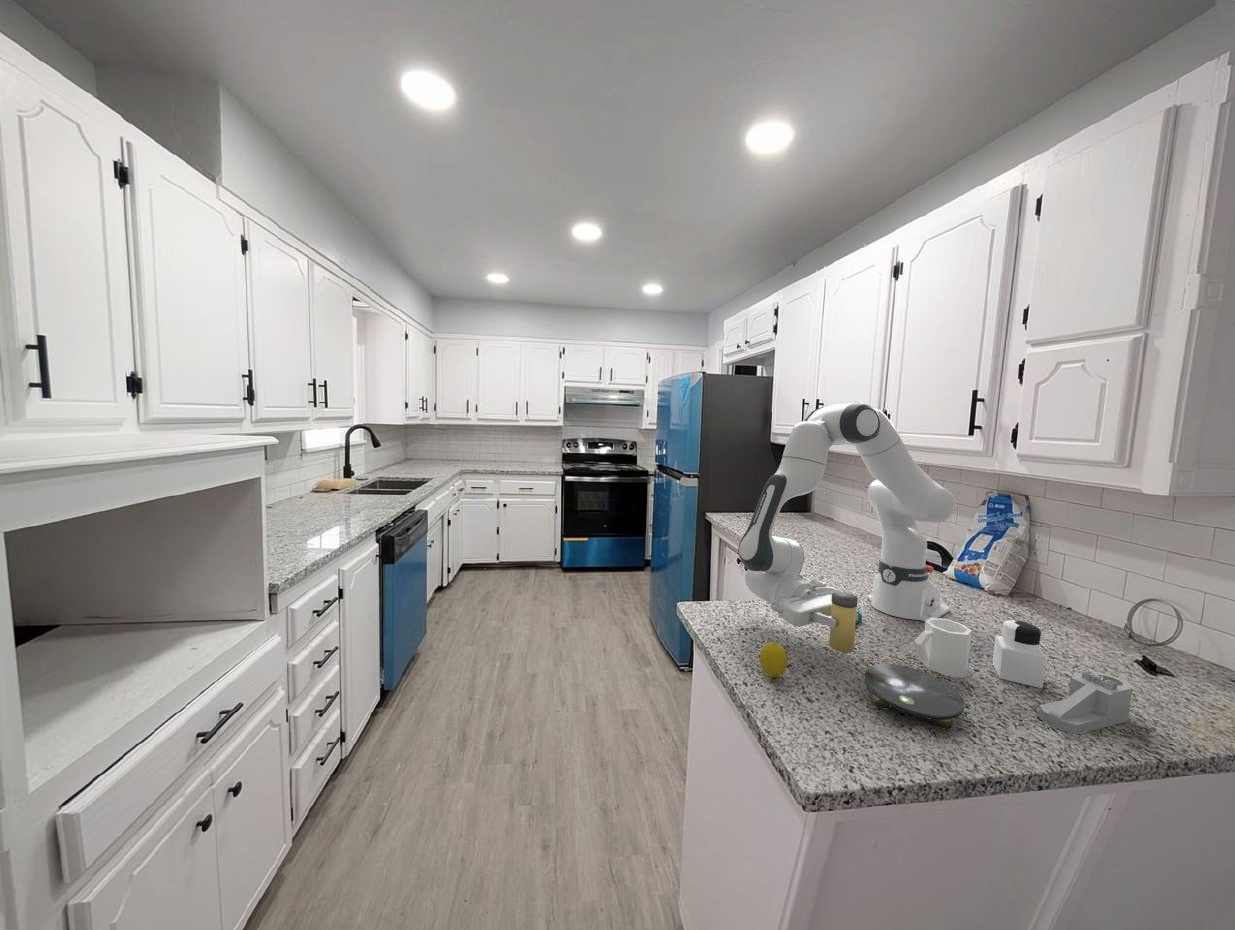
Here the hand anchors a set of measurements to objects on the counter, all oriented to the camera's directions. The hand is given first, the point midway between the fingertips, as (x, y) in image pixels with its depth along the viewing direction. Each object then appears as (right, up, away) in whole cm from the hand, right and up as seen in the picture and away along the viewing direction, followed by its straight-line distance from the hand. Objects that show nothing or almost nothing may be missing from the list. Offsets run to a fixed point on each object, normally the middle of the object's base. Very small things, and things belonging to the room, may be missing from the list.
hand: (846, 620), depth 98 cm
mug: (+21, -11, +1) cm, 24 cm away
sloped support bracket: (+37, -14, -15) cm, 42 cm away
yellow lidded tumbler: (0, -6, +2) cm, 7 cm away
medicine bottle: (+37, -12, -1) cm, 39 cm away
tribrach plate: (+6, -12, -13) cm, 18 cm away
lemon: (-18, -11, -4) cm, 22 cm away
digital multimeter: (+11, -9, +29) cm, 32 cm away
